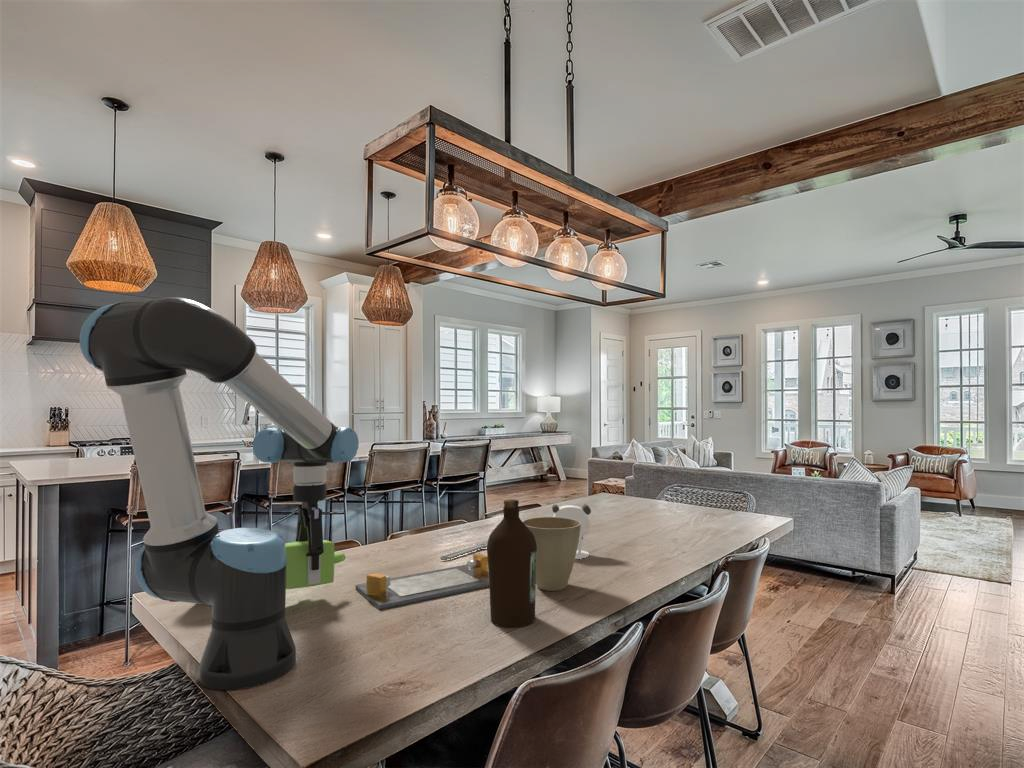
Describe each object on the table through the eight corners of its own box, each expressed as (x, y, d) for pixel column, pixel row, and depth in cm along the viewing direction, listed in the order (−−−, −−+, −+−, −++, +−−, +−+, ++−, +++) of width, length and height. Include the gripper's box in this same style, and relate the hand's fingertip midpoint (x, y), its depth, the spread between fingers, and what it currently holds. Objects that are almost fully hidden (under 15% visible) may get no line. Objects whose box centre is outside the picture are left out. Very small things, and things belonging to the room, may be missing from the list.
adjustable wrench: (444, 564, 162) (444, 558, 163) (430, 560, 167) (430, 554, 167) (502, 547, 181) (502, 541, 181) (489, 544, 185) (488, 538, 185)
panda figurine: (589, 550, 174) (588, 502, 175) (593, 559, 163) (592, 508, 163) (551, 550, 174) (550, 502, 175) (552, 560, 163) (551, 508, 164)
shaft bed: (504, 583, 141) (504, 561, 142) (379, 609, 124) (379, 585, 124) (471, 567, 157) (471, 547, 157) (355, 588, 139) (355, 566, 139)
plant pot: (546, 600, 128) (545, 531, 129) (511, 584, 140) (510, 521, 141) (594, 588, 136) (593, 523, 137) (557, 574, 149) (556, 514, 149)
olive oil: (486, 629, 112) (484, 504, 113) (489, 610, 122) (487, 496, 123) (538, 629, 111) (536, 504, 113) (537, 610, 122) (535, 496, 123)
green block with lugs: (339, 573, 140) (339, 535, 141) (352, 580, 132) (353, 539, 133) (262, 584, 129) (264, 543, 130) (272, 592, 121) (273, 548, 122)
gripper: (338, 486, 125) (337, 587, 123) (315, 478, 144) (313, 565, 142) (304, 489, 121) (302, 593, 119) (284, 480, 140) (282, 570, 138)
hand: (308, 578), depth 131 cm, fingers closed on green block with lugs, 10 cm apart
